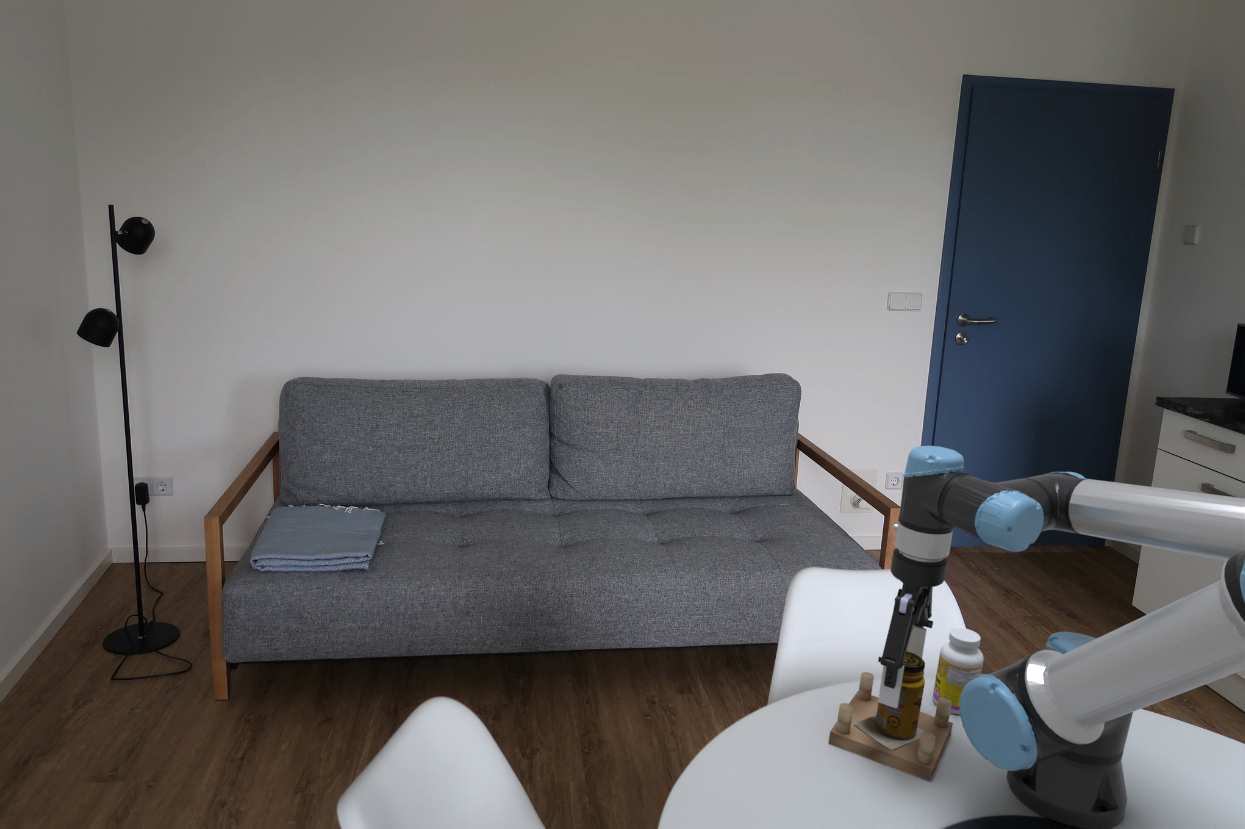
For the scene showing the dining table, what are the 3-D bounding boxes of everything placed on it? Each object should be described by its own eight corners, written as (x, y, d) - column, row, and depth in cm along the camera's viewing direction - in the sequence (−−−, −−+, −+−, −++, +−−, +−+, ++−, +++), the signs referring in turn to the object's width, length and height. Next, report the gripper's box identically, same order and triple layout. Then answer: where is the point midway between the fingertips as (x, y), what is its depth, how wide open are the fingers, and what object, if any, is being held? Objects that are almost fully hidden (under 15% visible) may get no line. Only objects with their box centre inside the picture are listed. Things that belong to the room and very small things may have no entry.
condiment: (928, 735, 134) (940, 663, 131) (891, 751, 129) (903, 678, 126) (890, 710, 140) (901, 641, 137) (853, 725, 135) (863, 654, 132)
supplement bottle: (936, 689, 151) (948, 620, 148) (977, 702, 148) (990, 632, 144) (928, 707, 145) (940, 636, 142) (970, 721, 142) (984, 649, 139)
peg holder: (950, 734, 138) (957, 700, 137) (930, 781, 126) (936, 744, 125) (856, 701, 145) (861, 668, 144) (828, 743, 134) (833, 708, 132)
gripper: (915, 522, 140) (896, 643, 146) (870, 573, 120) (850, 713, 125) (964, 533, 137) (943, 657, 142) (927, 589, 116) (904, 732, 121)
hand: (900, 683), depth 133 cm, fingers open, 13 cm apart
